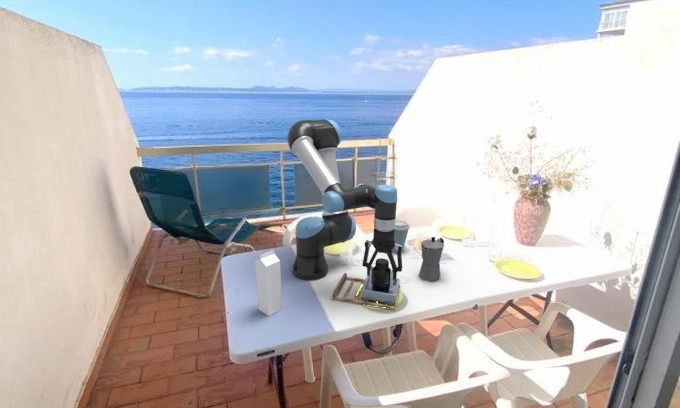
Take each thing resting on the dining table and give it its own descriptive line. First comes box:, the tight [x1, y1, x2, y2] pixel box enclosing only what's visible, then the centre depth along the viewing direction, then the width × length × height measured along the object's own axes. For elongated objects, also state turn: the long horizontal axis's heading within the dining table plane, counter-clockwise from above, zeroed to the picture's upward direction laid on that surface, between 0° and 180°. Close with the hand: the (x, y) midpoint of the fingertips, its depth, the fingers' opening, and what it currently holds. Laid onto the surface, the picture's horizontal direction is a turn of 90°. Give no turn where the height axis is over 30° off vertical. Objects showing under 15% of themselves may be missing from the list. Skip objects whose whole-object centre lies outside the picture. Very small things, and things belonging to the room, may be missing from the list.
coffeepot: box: [418, 236, 445, 283], centre depth 144 cm, size 15×9×18 cm, turn 136°
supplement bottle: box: [372, 257, 392, 293], centre depth 129 cm, size 7×7×12 cm
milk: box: [254, 249, 283, 317], centre depth 118 cm, size 6×6×22 cm
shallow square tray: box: [360, 275, 401, 306], centre depth 131 cm, size 13×14×4 cm
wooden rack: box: [331, 272, 401, 312], centre depth 132 cm, size 23×17×2 cm
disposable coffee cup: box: [392, 220, 410, 254], centre depth 168 cm, size 11×11×15 cm
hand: (381, 284), depth 130 cm, fingers open, 7 cm apart
